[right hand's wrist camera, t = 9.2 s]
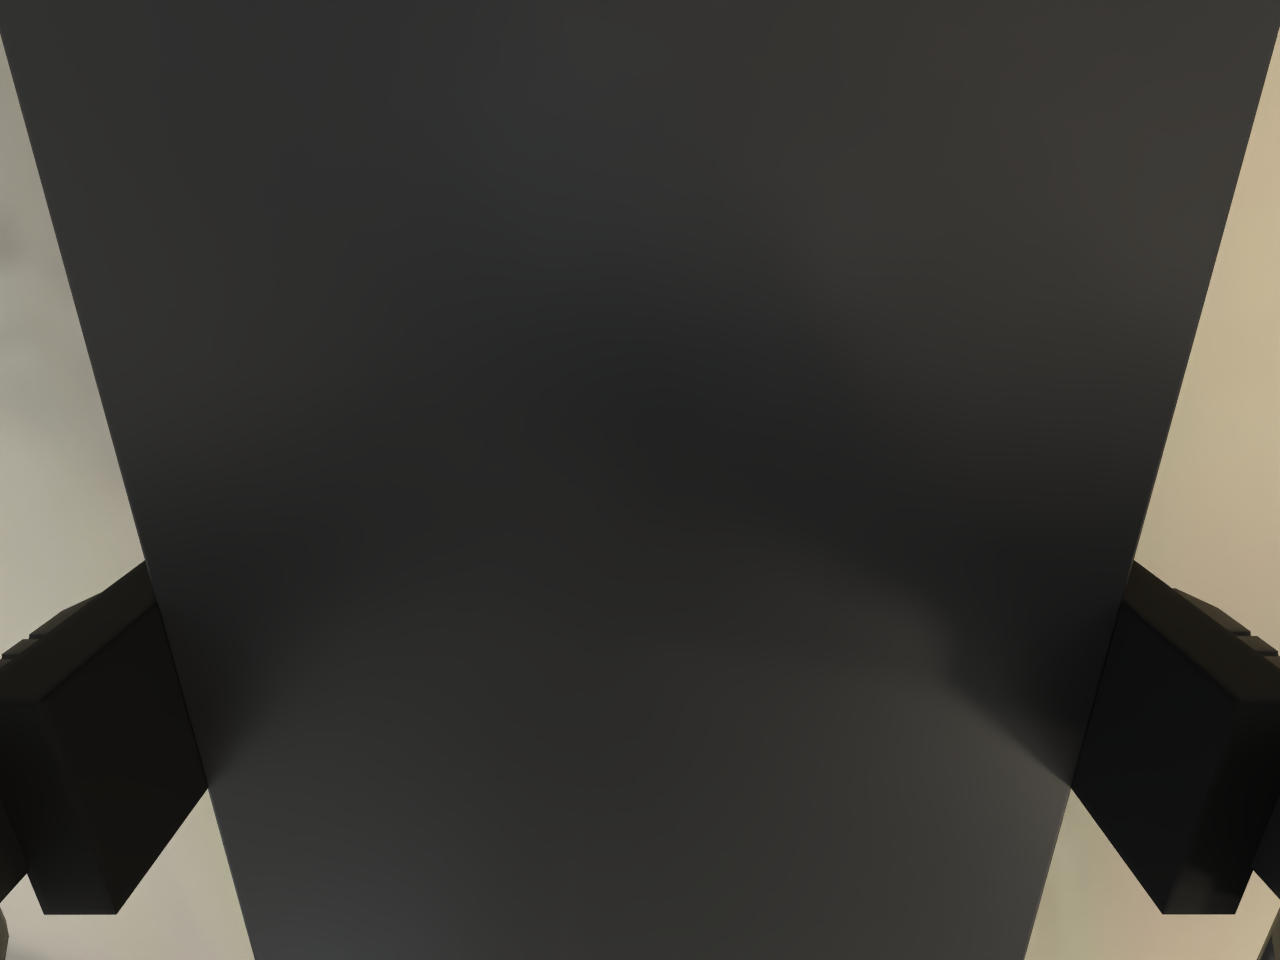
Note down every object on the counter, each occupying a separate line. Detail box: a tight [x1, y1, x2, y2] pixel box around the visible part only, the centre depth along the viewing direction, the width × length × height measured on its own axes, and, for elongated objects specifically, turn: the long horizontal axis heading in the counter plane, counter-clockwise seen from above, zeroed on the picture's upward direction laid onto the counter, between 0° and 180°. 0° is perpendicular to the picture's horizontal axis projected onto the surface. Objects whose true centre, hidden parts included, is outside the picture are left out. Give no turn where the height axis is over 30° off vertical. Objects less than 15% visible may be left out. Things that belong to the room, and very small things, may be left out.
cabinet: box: [0, 0, 1280, 960], centre depth 11 cm, size 16×11×8 cm
